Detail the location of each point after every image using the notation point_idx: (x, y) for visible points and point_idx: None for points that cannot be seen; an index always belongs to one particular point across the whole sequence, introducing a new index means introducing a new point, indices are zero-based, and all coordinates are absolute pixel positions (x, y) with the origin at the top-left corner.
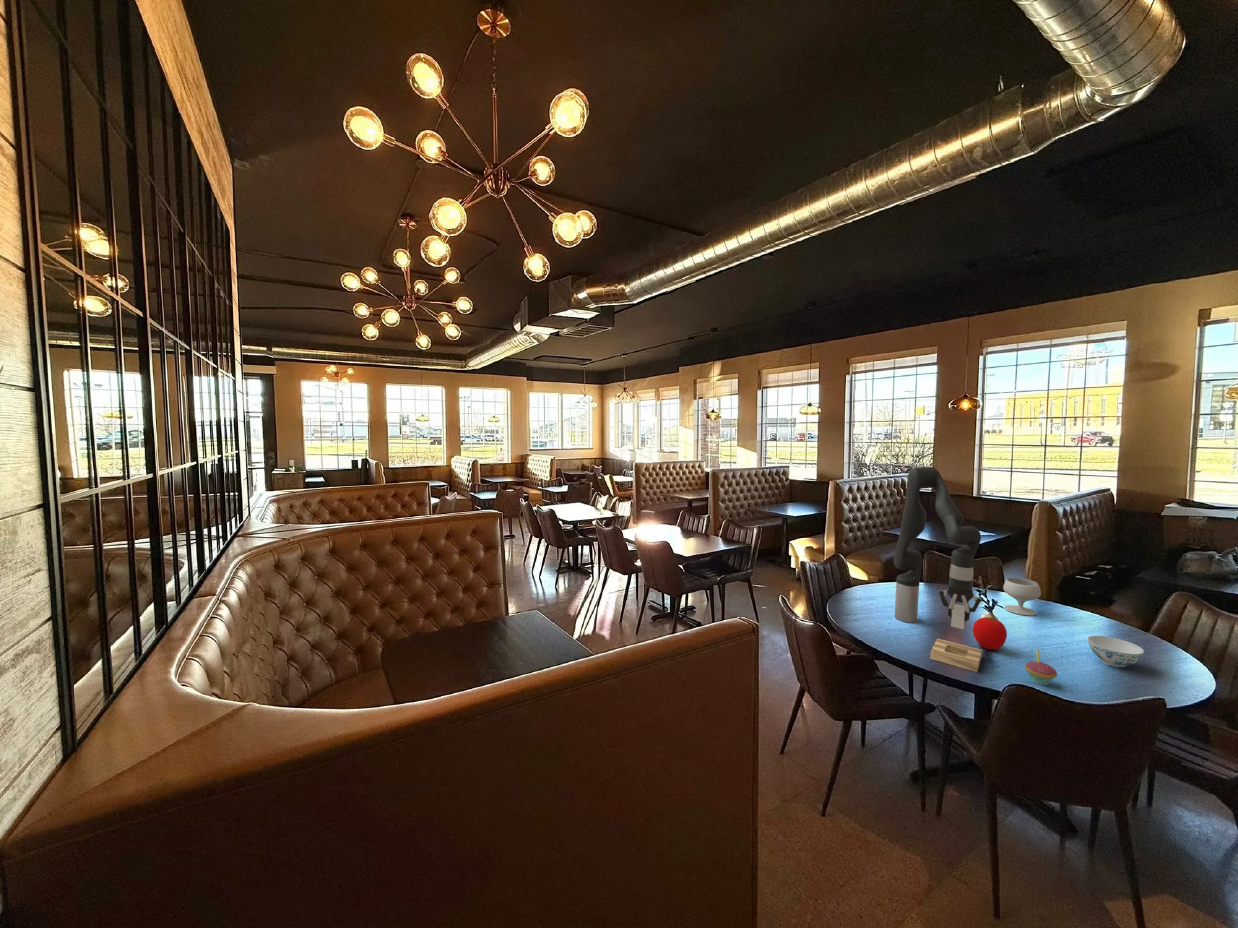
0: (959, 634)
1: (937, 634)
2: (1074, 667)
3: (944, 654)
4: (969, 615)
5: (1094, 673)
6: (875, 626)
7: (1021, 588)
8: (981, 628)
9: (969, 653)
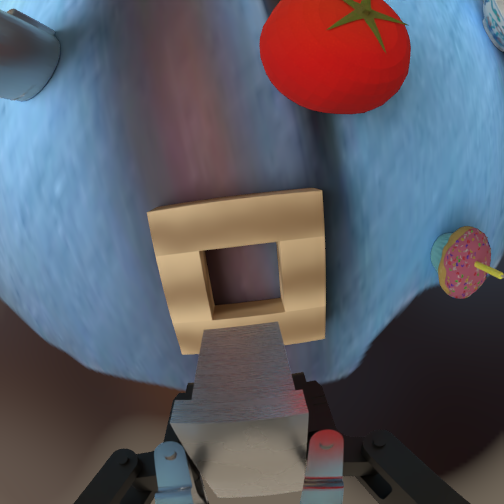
0: (197, 27)
1: (130, 93)
2: (479, 91)
3: None
4: (327, 412)
5: (499, 105)
6: (3, 220)
7: None
8: (322, 92)
9: (289, 270)
